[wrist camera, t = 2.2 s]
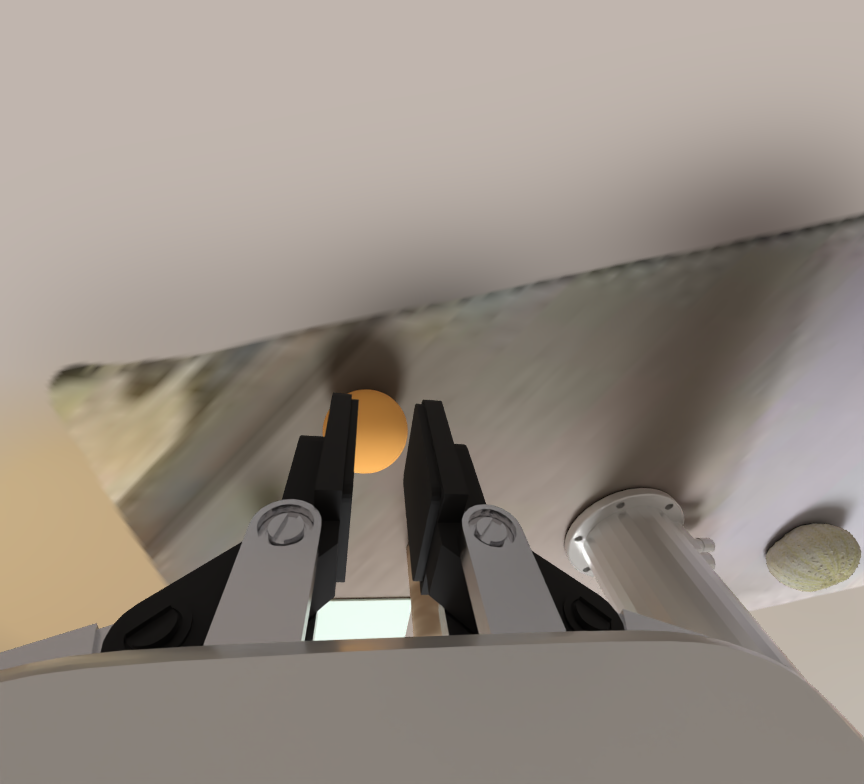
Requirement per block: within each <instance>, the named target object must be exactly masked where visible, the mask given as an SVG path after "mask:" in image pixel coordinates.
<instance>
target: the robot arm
mask: <svg viewBox="0 0 864 784" xmlns="http://www.w3.org/2000/svg"><path fill="white" fill-rule="evenodd" d="M358 406H359V400H358V399H352V394H343V393H333V395H332V400H331V405H330V411H329V416H328V421H327V427H326V432H325V437H321V436H303V435H301V436H300V438H299V441H298V444H297V448H296V451H295V455H294V458H293V462H292V466H291V469H290V473H289V476H288V480H287V483H286V487H285V490H284V494H283V498H282V500H280V501H276V502H273V503H270V504H269V505H267V506H265V507H263V508H261V509H260V510H259V511H258V512H257V513H256V514H255V515H254V516H253V518H252V520H251V521H250V523H249V526H248V529H247V531H246V534H245V537H244V539H243V542H241V543H239V544H238V545H236V546H234V547H233V548H231V549H229V550H227V551H226V552H224V553H222V554H221V555H219V556H217V557H216V558H214V559H212V560H211V561H209V562H207V563H206V564H204V565H202V566H201V567H199V568H197V569H196V570H194V571H192V572H190V573H189V574H187V575H185V576H184V577H182V578H180V579H179V580H177V581H175V582H174V583H172V584H170V585H169V586H167V587H165V588H164V589H162V590H160V591H159V592H157V593H155V594H153V595H152V596H150V597H149V598H147V599H145V600H143V601H142V602H140V603H138V604H137V605H135V606H134V607H133V608H131V609H130V610H128V611H127V612H126V613H124V614H123V615H122V616H121V617H120V618H119V619H118V620H117V621H116V622H115V623H114V624H113V625H110V626H107V627H103V628H100V629H99V628H98V626H97V624H92V625H89V626H86V627H83V628H80V629H76V630H73V631H70V632H66V633H63V634H60V635H57V636H53V637H50V638H47V639H44V640H40V641H37V642H34V643H30V644H27V645H24V646H21V647H17V648H14V649H11V650H7V651H4V652H1V653H0V784H864V737H863V736H862V735H861V734H860V733H859V732H858V731H857V730H856V729H855V727H854V726H853V725H852V724H851V723H850V722H849V721H848V720H847V719H846V718H845V717H844V716H843V715H842V714H841V713H840V712H839V711H838V710H837V709H836V708H835V707H834V706H833V705H832V703H830V702H829V701H828V700H827V699H826V698H825V697H824V696H823V695H822V694H821V693H820V692H819V691H818V690H817V689H816V688H814V687H813V686H812V685H811V684H810V683H808V681H807V680H806V679H805V678H804V676H803V675H802V674H801V673H800V672H799V670H798V669H797V668H796V667H795V666H794V665H793V663H792V662H791V661H790V660H789V659H788V658H787V656H786V655H785V654H784V653H783V652H782V650H781V649H780V648H779V647H778V646H777V645H776V643H775V642H774V641H773V640H772V639H771V638H770V636H769V635H768V634H767V633H766V631H765V630H764V629H763V628H762V627H761V626H760V624H759V623H758V622H757V621H756V620H755V618H754V617H753V616H752V615H751V614H750V613H749V611H748V610H747V609H746V608H745V607H744V605H743V604H742V603H741V602H740V601H739V599H738V598H737V597H736V596H735V595H734V594H733V592H732V591H731V590H730V589H729V588H728V586H727V585H726V584H725V583H724V582H723V581H722V579H721V578H720V577H719V576H718V575H717V573H716V572H715V571H714V570H713V569H714V568H715V560H714V558H713V557H712V555H711V554H709V553H708V552H713V551H714V550H715V544H714V542H713V540H711V539H710V538H696V539H694V538H693V537H692V536H691V535H690V534H689V533H688V531H687V530H686V529H685V528H684V527H683V525H684V513H683V511H682V508H681V507H680V506H679V504H678V503H677V502H676V501H675V500H674V499H673V498H672V497H671V496H670V495H669V494H667V493H665V492H663V491H661V490H656V489H652V488H636V489H628V490H624V491H620V492H617V493H614V494H612V495H609V496H607V497H605V498H603V499H601V500H599V501H597V502H595V503H594V504H593V505H591V506H590V507H588V508H587V509H586V510H585V511H584V512H583V513H581V514H580V515H579V516H578V517H577V519H576V520H575V521H574V523H573V524H572V525H571V527H570V529H569V531H568V533H567V535H566V539H565V551H566V555H567V557H568V559H569V561H570V563H571V565H572V566H573V567H574V568H575V569H576V570H577V571H579V572H580V573H582V574H585V575H588V576H591V577H595V579H596V580H597V582H598V584H599V586H600V588H601V590H602V592H603V593H604V595H605V597H606V599H607V601H608V602H607V601H606V600H605V599H603V598H602V597H601V596H600V595H598V594H597V593H595V592H594V591H592V590H591V589H589V588H588V587H586V586H584V585H583V584H581V583H580V582H578V581H577V580H575V579H574V578H572V577H571V576H569V575H568V574H566V573H565V572H563V571H562V570H560V569H559V568H557V567H556V566H554V565H553V564H551V563H550V562H548V561H547V560H545V559H543V558H542V557H540V556H539V555H537V554H536V553H534V552H533V551H532V550H531V548H530V546H529V544H528V541H527V539H526V537H525V534H524V532H523V530H522V527H521V526H520V524H519V522H518V521H517V519H515V518H514V517H513V516H512V515H511V514H510V513H509V512H507V511H505V510H504V509H502V508H499V507H496V506H494V505H486V502H485V499H484V496H483V493H482V490H481V487H480V484H479V481H478V478H477V475H476V472H475V469H474V466H473V463H472V460H471V457H470V454H469V451H468V448H467V446H466V445H464V444H454V442H453V439H452V435H451V432H450V428H449V425H448V421H447V418H446V414H445V411H444V407H443V404H442V401H435V400H423V401H422V404H416V405H415V409H414V415H413V421H412V427H411V433H410V439H409V446H408V452H407V458H406V464H405V470H404V480H403V484H404V496H405V507H406V518H407V529H408V540H409V551H410V562H411V573H412V580H413V581H419V582H420V592H421V595H429V596H430V597H431V598H433V599H434V600H435V601H436V602H437V603H439V619H440V625H441V631H442V636H421V637H394V638H369V639H343V640H320V641H314V639H315V633H316V626H317V619H318V610H320V609H321V608H322V607H323V606H324V605H325V604H327V603H328V602H329V601H330V600H331V599H332V598H334V597H335V587H336V582H345V574H346V562H347V551H348V539H349V527H350V516H351V504H352V492H353V479H354V464H355V450H356V435H357V420H358Z"/></svg>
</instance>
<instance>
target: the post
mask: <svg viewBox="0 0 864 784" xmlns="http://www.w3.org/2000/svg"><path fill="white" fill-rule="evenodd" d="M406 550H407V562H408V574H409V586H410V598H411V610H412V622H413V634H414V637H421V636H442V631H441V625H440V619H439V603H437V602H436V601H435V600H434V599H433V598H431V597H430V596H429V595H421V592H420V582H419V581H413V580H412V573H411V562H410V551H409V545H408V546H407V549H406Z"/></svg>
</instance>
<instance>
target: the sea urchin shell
mask: <svg viewBox="0 0 864 784" xmlns="http://www.w3.org/2000/svg"><path fill="white" fill-rule="evenodd" d="M860 558H861V550H860V546H859V544H858V543H857V541H856V540H855V538H854V537H853V535H851V534H850V532H848V531H847V530H844V529H843V528H840V527H837V526H833V525H829V524H827V523H826V524H815V523H814V524H809V525H803V526H800V527H797V528H795V529H793V530H792V531H791V532H789V533H787V534H785V535H784V537H783V538H782V539H781V540H779V541H777V542H775V544H774V545H773V546H772V547H771V548H769V550H768V553H767V554H766V561H767V563H766V564H767V566H768V569H769V572H770V573H771V574H772V575H773V576H774V577H775V578H776V579H777V580H778V581H779V582H781V583H783V584H784V585H786V586H788V587H790V588H793V589H796V590H800V591H806V592H813V591H817V590H821V589H823V588H827V587H830V586H832V585H837V584H838V583H839V582H842V581H844V580H846V579H849V577H850V576H851V575H853V573H854V572H855V569H856V568H857V567H858V564H860V563H859V561H860Z"/></svg>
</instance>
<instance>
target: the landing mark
mask: <svg viewBox="0 0 864 784" xmlns="http://www.w3.org/2000/svg"><path fill="white" fill-rule="evenodd" d="M410 611H411V598H390V599H337V600H330V601H329V602H328V603H327V604H325V605H324V606H323V607H322V608H321V609H320V610H318V619H317V626H316V633H315V639H314V641H320V640H343V639H369V638H394V637H405V634H406V629H407V625H408V620H409V616H410Z"/></svg>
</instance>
